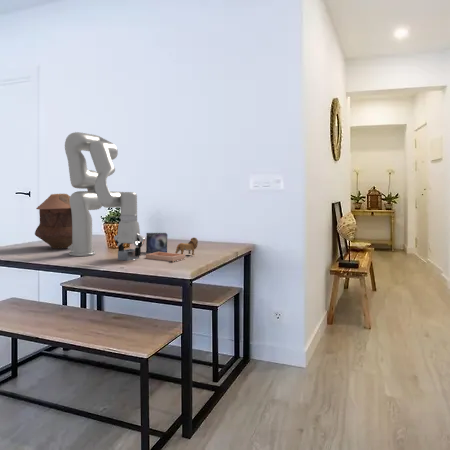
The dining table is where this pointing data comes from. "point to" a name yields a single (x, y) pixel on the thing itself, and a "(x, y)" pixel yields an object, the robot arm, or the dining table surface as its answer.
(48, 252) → the dining table surface
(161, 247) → the small box
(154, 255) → the tray
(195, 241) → the lion figurine
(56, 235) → the pottery vessel
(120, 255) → the frame
